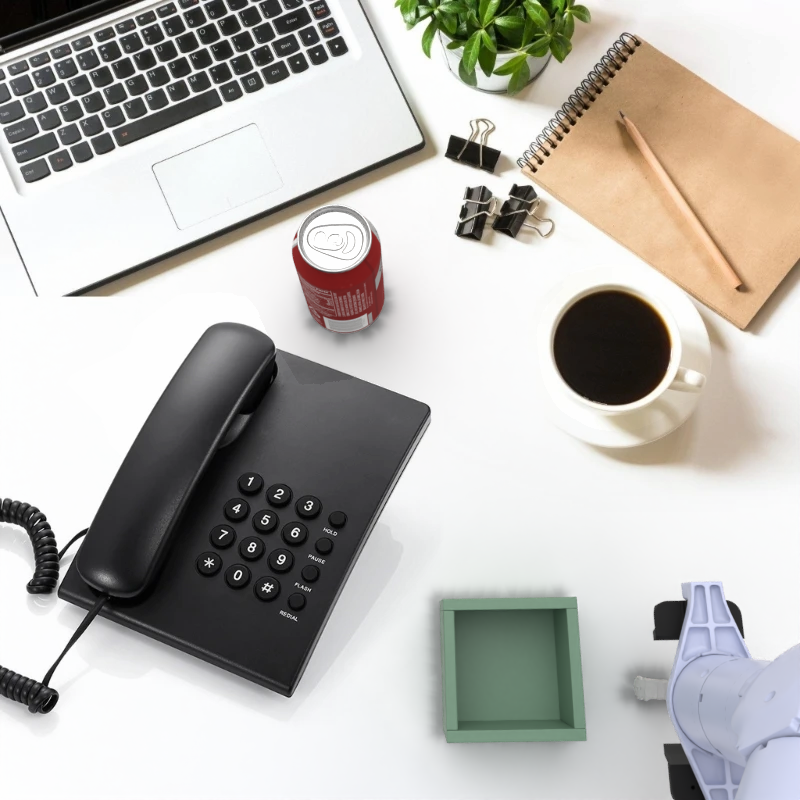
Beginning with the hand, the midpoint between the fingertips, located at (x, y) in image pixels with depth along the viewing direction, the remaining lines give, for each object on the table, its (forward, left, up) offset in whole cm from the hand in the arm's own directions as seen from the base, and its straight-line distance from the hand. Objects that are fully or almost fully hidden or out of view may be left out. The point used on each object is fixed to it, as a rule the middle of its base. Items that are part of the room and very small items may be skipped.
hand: (672, 690), depth 58 cm
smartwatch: (0, 0, -5) cm, 5 cm away
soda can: (+9, +39, -5) cm, 40 cm away
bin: (-6, +10, -4) cm, 12 cm away
